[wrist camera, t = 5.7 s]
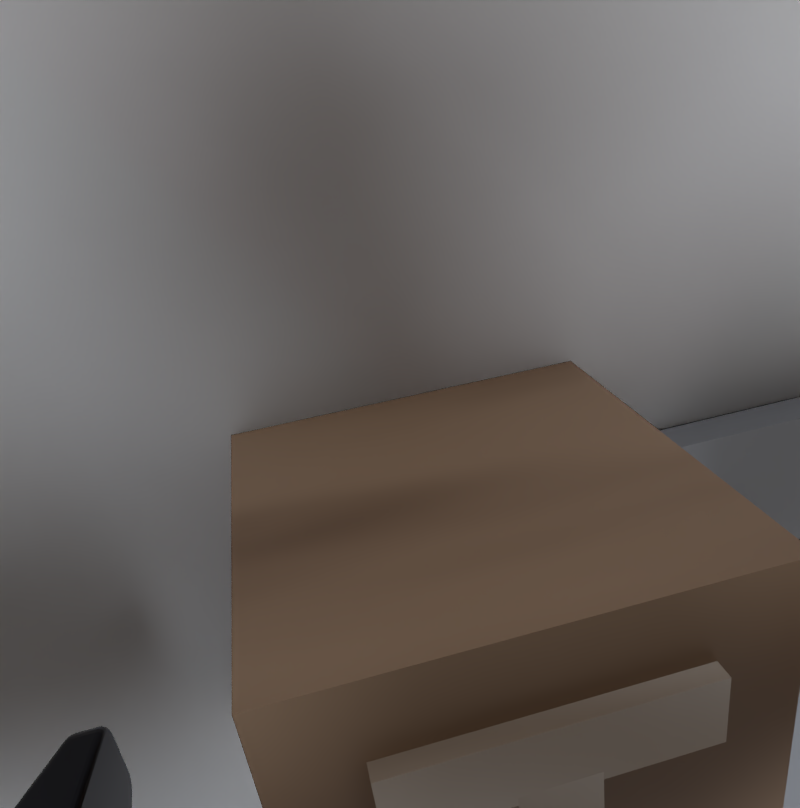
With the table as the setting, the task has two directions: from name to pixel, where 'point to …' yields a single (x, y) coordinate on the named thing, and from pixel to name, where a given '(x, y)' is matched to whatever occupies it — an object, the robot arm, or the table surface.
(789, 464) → the slate pad
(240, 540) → the walnut cube
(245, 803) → the table surface
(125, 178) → the table surface
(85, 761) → the robot arm
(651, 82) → the table surface
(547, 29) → the table surface
